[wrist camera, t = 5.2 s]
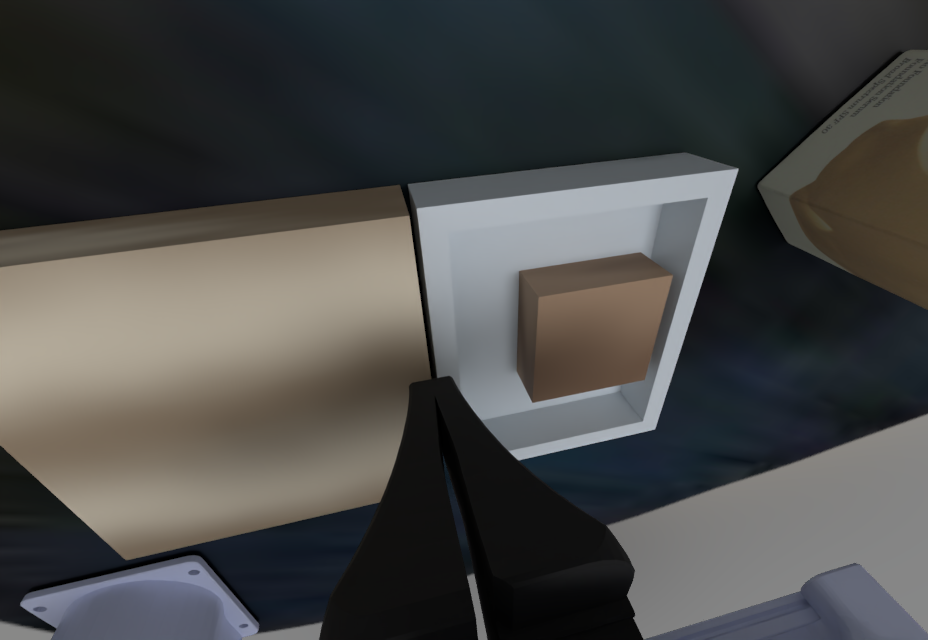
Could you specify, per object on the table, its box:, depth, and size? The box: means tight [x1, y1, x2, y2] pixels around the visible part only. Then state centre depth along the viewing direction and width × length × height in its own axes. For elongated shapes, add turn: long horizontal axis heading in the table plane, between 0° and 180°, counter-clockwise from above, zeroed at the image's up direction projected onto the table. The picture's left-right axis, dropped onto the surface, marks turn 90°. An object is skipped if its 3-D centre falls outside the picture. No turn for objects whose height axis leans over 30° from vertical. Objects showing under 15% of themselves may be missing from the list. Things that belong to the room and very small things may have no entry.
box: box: [408, 152, 738, 460], centre depth 16 cm, size 12×10×2 cm
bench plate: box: [0, 185, 431, 560], centre depth 14 cm, size 12×12×3 cm
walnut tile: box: [517, 252, 673, 403], centre depth 16 cm, size 5×5×2 cm
